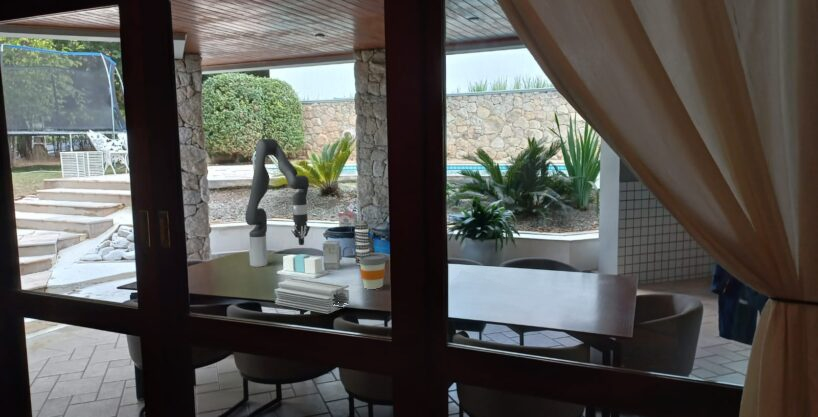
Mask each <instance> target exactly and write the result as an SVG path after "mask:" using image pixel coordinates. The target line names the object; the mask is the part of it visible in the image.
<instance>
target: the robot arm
mask: <svg viewBox="0 0 818 417" xmlns="http://www.w3.org/2000/svg"><path fill="white" fill-rule="evenodd" d="M267 156H273V157H275V159H276V160H277V167H278V170H279V171H280V172H281V173H282V175H283V176H284V177H285V179H286V182H287V184H288V186H289V187H290V188H291V189H292V190H298V192H297V193H294V194H293V196H292V219H293V220H292V221H293V223H294V226H293V227H294V228H291V232H292V235H294V237H295V238H296V239H298V245H299V246H304V245H305V238H306V237H307V236H308V233H309V231H310V228H311V226H309V225H308V223H307V222H308V221H309V220H308V218H309V217H308V205H307V194H308V191H309V187H310V182H309V181H310V180H309V179H308V177H307V175H298V170H297V168H296V167H295V166H294V165H293V164H292V163H291V162H290V161H289V159H288V157H287V156H286V154H285V153H284V151H283V149H282V148H281V146H280V145H279V142H277V140H276V139H274V138H260V139H258V141H257V142H256V147H255V161H254V170H253V175H252V181H251V188H250V194H249V199H248V203H247V207H246V211H245V217H244V218H245V223H246V224H247V226H255V227H254V228H253V229H252V230H250V231H249V233H248V234H249V249H248V253H249V265H250V267H254V268H255V267H265V266H268V251H267V250H268V249H267V248H268V246H267V228H268V224H267V222H268V221H267V218H268V217H267V216H268V215H267V213H266V210H265V209H264V208H261V207H259V205H260V202H261V200H262V199H263V198H264V197H265V195H267V192H268V189H269V186H270V180H271V179H270V175H269V172H268V169H267V168H266V157H267Z"/></svg>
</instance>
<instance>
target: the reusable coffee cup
mask: <svg viewBox="0 0 818 417" xmlns="http://www.w3.org/2000/svg"><path fill="white" fill-rule="evenodd" d="M386 263H387V262H386V256H385V255H383V254H378V253H377V254H370V255H364V256H361V257H360V265H359V266H360V274H361V279H362V282H363V287H364V289H365V288H367V289H366V290H368V289H376V288H380V287H382V286H383V287H384V278H385V274H386V267H385V265H386ZM383 287H382V288H383ZM376 290H377V289H376Z"/></svg>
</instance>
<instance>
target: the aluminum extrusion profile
mask: <svg viewBox="0 0 818 417" xmlns="http://www.w3.org/2000/svg"><path fill="white" fill-rule="evenodd" d="M277 286H279V288H275V289H274V290H273V291H274V295H276V298H275V300H274V302H275V303H274V305H279V306H286V307H290V308H295V309H301V310H306V311H310V312H316V313H321V314H327V315H328V314H331V313H333V312H335V311H339V310H340V309H342V308H338V307H337V306H333V305H334V304H335V305H339V306H343V305H346V304H344V303H347V304H349V305H350V290H348V289H347V288H349V287H350V286H349V284H343V283H337V282H332V281H331V282H330V281H324V280H316V279H312V278H305V277H299V276H295V277H289V278H285V279H284V281H280V282H278V284H277ZM338 302H339V303H338Z"/></svg>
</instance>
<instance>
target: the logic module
mask: <svg viewBox="0 0 818 417" xmlns="http://www.w3.org/2000/svg"><path fill="white" fill-rule="evenodd" d="M295 255H296V256H295V270H296V271H298V272H305V264H304V259H305V258H309V257H311V255H310V254H304V253H301V254H295Z"/></svg>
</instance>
